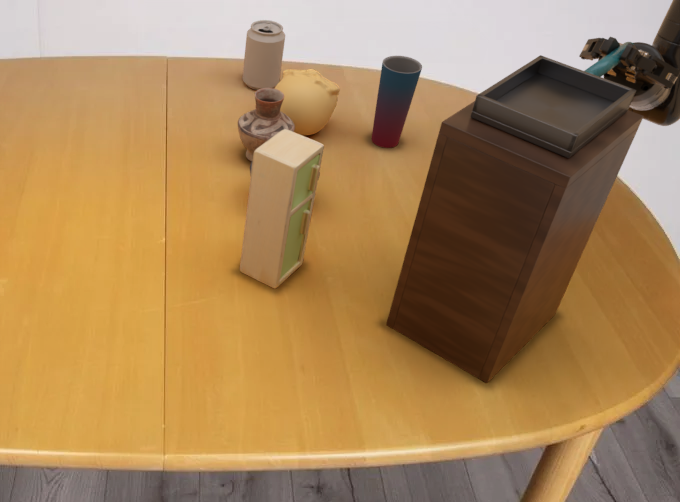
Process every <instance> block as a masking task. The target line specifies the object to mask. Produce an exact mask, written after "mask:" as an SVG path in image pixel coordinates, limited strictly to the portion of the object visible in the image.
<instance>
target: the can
mask: <svg viewBox="0 0 680 502" xmlns="http://www.w3.org/2000/svg"><path fill="white" fill-rule="evenodd" d="M283 30H284V27H283V25H282V24H281V23H280V22H277V21H273V20H267V19H262V20H261V19H260V20H256V21H254V22H252V23H251V24H250V28H249V29H248V30H247V31H246V36H245V38H246V39H245V48H244V57H243V67H242V77H241V79H242V81H243V83H245V85H246V86H247V87H248V88H250V89H251V90H255V91H257V90H259V89H262V88H275V87H276V85H277V84H278V83H279V82H280V81H281V79H280V78H281V71H282V63H283V56H284V49H285V41H286V34H285V32H284V31H283Z"/></svg>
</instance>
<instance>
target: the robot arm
mask: <svg viewBox="0 0 680 502" xmlns="http://www.w3.org/2000/svg"><path fill="white" fill-rule="evenodd" d="M632 43H633V44H631V43H628V44H627V46H626V48H625V50H624V51H623V53H622V55H621V57H620V61H621V63H619V64H618V65H617V66H615V67H614V68H612V69H611V70H610V71H608V72H607V73H605V74H604V75H603V78H604V79H607V80H610V81H612V82H615V83H618V84H621V85H623V86H626V87H629V88H632V89H634V90H636V93H635V95H634V97H633V100H632V102H631V104H630V106H629V109H628V110H629V111H632V112H634V113H637V114H640V115H642V116H643V119H642V120H645V121H647V122H649V123H652V124H655V125H657V126H660V127H670V126H671V125H674V124H676V123H677V122H678V121H679V120H680V0H672V2H671V3H670V5H669V8H668V9H667V12H666V14H665V16H664V18H663V20H662V22H661V24H660V26H659V28H658V30H657V33H656V34H655V36H654V39H653V41H652V44H650V43H647V42H646V43H645V42H641V41H638V42H637V41H636V42H632ZM622 44H623V43H622V42H619V41H618V39H617V38H616V37H613V36H609V37H608V38H604V37H596V38H588V39H587V40H586V42H585V45H584V46H583V48H582V50H581V51H580V54H579V56H578V57H579V58H581V60H589V61H593V60H597V62H598V61H599V60H601V59H602V58H603V57H605V56H606V55H608V54H609V53H611V52H612V51H614V50H615V49H616V48H618V47H619V46H621V45H622Z"/></svg>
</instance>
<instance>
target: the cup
mask: <svg viewBox="0 0 680 502" xmlns="http://www.w3.org/2000/svg"><path fill="white" fill-rule="evenodd" d="M422 69H423V65H422V63H421V62H420V61H418V60H417V59H415V58H412V57H409V56H406V55H405V56H404V55H390V56H387V57H385V58H384V59H383V60H382V64H381V69H380V75H379V76H380V78H379V82H378V90H377V97H376V104H375V111H374V118H373V125H372V132H371V137H370V139H371V140H370V141H371V142H372V143H373V144H374V145H376V146H378V147H380V148H386V149H390V148H391V149H392V148H395V147H397V146H398V145H399V143H400V139H401V138H402V137H401V136H402V133H403V130H404V127H405V123H406V121H407V118H408V114H409V111H410V108H411V104H412V101H413V98H414V95H415V93H416V89H417V85H418V83H419V79H420V76H421V73H422Z"/></svg>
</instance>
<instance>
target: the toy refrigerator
mask: <svg viewBox="0 0 680 502" xmlns="http://www.w3.org/2000/svg"><path fill="white" fill-rule="evenodd" d="M324 151H325V145H324V144H323V143H321V142H319V141H317V140H314V139H312V138H309V137H307V136H306V135H304V136H302V135H300V134H297V133H295V132H292V131H290V130H287V129H284V130H281V131H280V132H278V133H277V134H276V135H274V136H273V137H272V138H270V139H269V140H268V141H266V142H265V143H264V144H262V145H261V146H260V147H258V148H257V149H256V150H255V151H254V154H253V161H251V162H252V170H251V177H250V180H249V188H248V197H247V205H246V214H245V222H244V230H243V238H242V246H241V255H240V263H239V272H240V273H242V274H243V275H246V276H248V277H250V278H252V279H254V280H256V281H258V282H260V283H261V284H264V285H266V286H268V287H270V288H272V289H277V288H278V287H280V286H281V285H282V284H283V283H284V282H285V281H286V280H287V279H288V278H290V276H291V275H293V274H294V273H295V272H296V270H298V268H300V267H301V266H302V265H303V263H304V259H305V254H306V253H305V252H306V247H307V242H308V236H309V230H310V224H311V219H312V214H313V209H314V204H315V199H316V192H317V187H318V184H319V183H318V182H319V180H318V177H319V178H320V176H319V172H320V173H321V166H322V161H323V160H322V159H323V154H324Z"/></svg>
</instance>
